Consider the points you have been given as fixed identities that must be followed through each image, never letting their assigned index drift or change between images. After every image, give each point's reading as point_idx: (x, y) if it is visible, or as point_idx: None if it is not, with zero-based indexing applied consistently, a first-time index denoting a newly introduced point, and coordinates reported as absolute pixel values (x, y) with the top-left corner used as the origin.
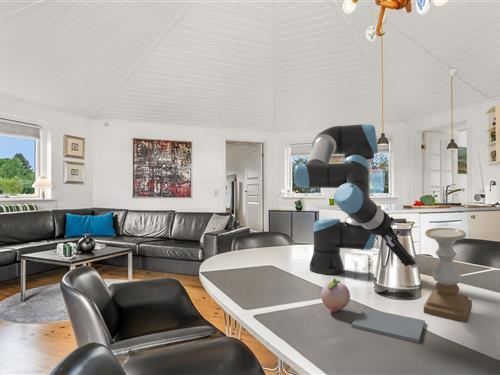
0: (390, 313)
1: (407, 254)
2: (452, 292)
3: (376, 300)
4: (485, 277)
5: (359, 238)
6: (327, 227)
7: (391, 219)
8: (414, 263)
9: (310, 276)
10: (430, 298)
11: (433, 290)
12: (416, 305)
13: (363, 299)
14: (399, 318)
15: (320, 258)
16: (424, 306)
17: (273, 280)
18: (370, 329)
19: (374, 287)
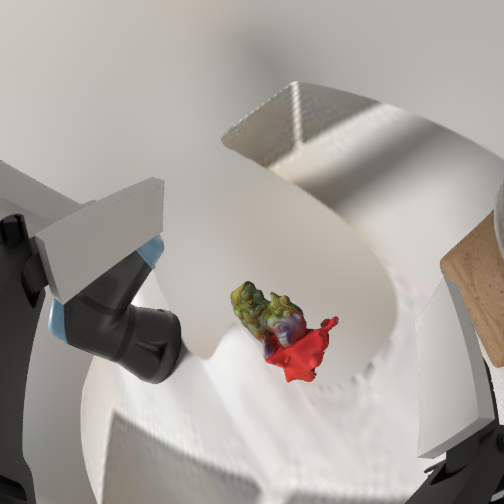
0: None
1: (493, 489)
2: None
3: (347, 435)
4: (318, 95)
5: (121, 270)
6: (64, 324)
7: (14, 237)
8: (488, 376)
9: (161, 413)
10: (501, 325)
11: (456, 264)
12: None
13: (320, 464)
14: (496, 499)
15: (130, 365)
16: (500, 364)
17: (147, 491)
18: None
19: (288, 380)
